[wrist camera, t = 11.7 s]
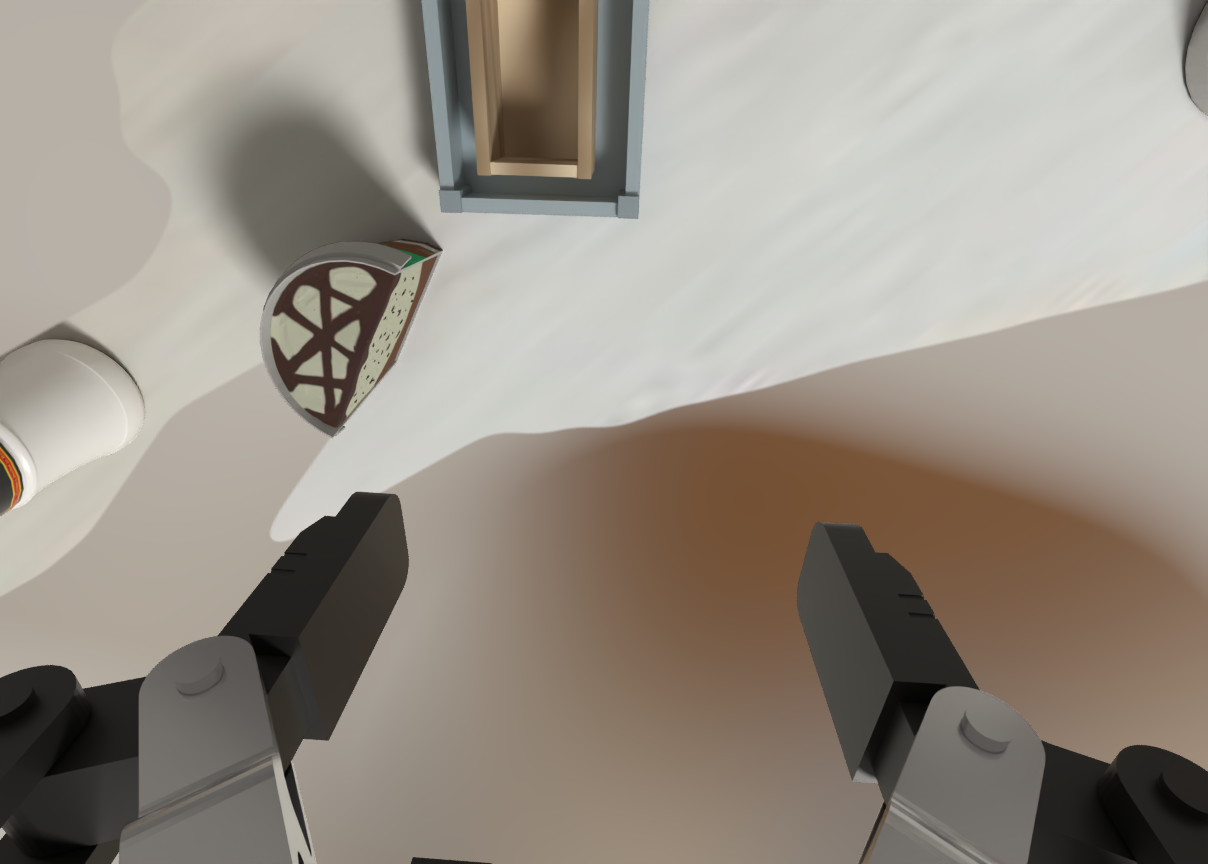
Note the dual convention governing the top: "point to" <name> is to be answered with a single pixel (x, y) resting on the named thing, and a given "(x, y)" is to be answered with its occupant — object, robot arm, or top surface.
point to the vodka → (60, 414)
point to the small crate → (534, 86)
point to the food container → (342, 324)
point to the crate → (542, 195)
